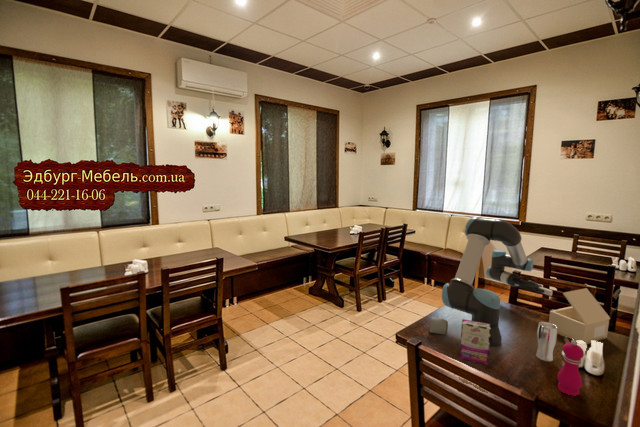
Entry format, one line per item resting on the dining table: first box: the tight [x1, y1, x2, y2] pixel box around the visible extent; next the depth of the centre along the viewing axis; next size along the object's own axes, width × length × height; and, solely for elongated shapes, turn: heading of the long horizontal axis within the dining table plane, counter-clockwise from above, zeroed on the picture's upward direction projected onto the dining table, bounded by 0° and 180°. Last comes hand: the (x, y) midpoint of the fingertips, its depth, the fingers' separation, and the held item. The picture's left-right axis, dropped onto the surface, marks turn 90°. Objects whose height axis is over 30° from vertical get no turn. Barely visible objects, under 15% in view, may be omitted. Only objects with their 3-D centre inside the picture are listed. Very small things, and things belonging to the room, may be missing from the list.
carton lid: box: [562, 287, 611, 325], centre depth 152 cm, size 18×16×1 cm
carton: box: [548, 305, 610, 345], centre depth 156 cm, size 18×16×10 cm
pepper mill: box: [557, 340, 585, 396], centre depth 114 cm, size 7×7×20 cm
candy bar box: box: [459, 318, 491, 366], centre depth 134 cm, size 11×5×16 cm, turn 64°
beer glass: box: [535, 321, 558, 363], centre depth 135 cm, size 7×7×15 cm
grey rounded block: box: [429, 316, 449, 335], centre depth 158 cm, size 11×8×8 cm
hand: (551, 293), depth 168 cm, fingers closed
